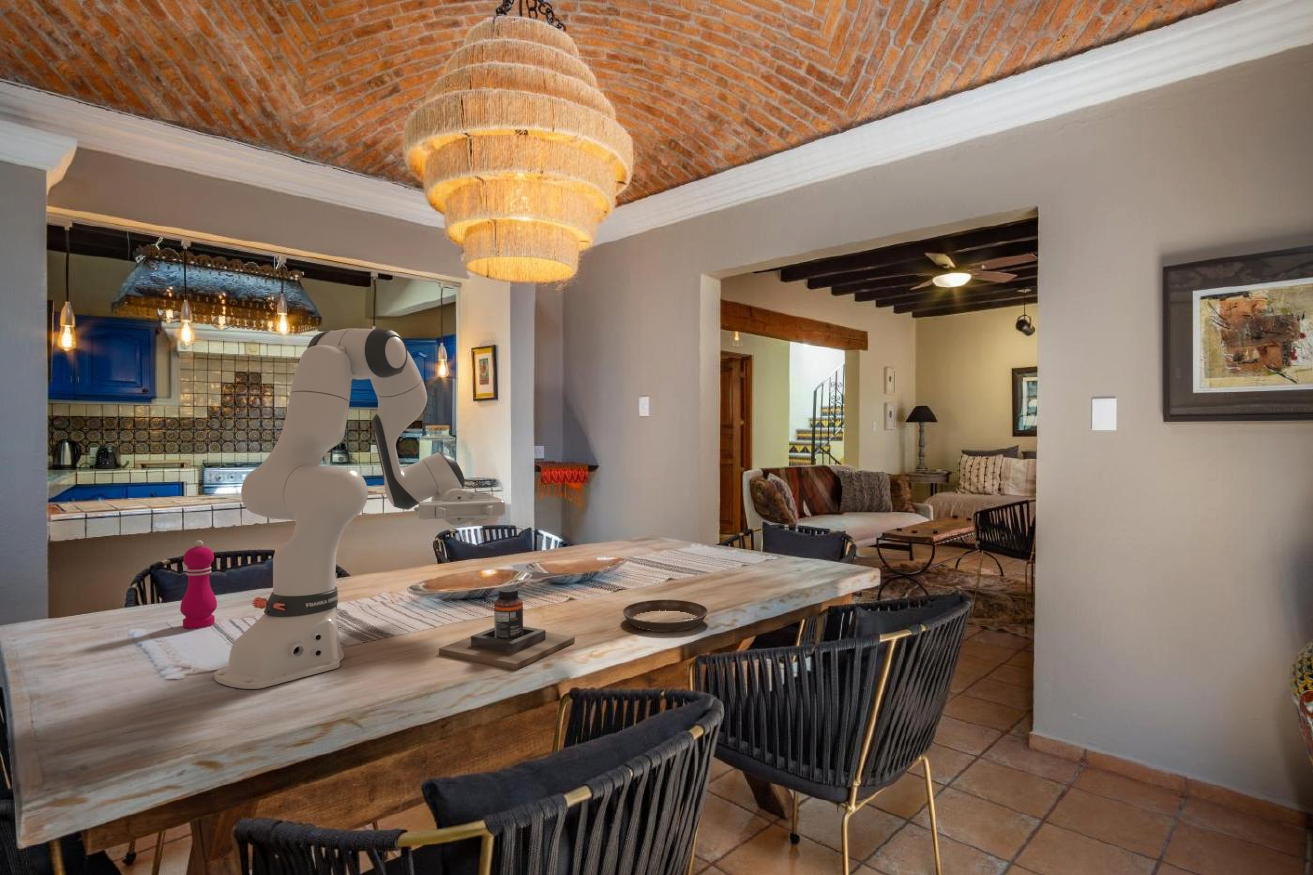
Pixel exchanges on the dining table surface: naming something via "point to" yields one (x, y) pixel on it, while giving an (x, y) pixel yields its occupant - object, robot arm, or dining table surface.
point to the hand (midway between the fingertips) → (468, 512)
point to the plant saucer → (668, 606)
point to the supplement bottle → (508, 614)
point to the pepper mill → (198, 588)
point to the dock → (507, 648)
